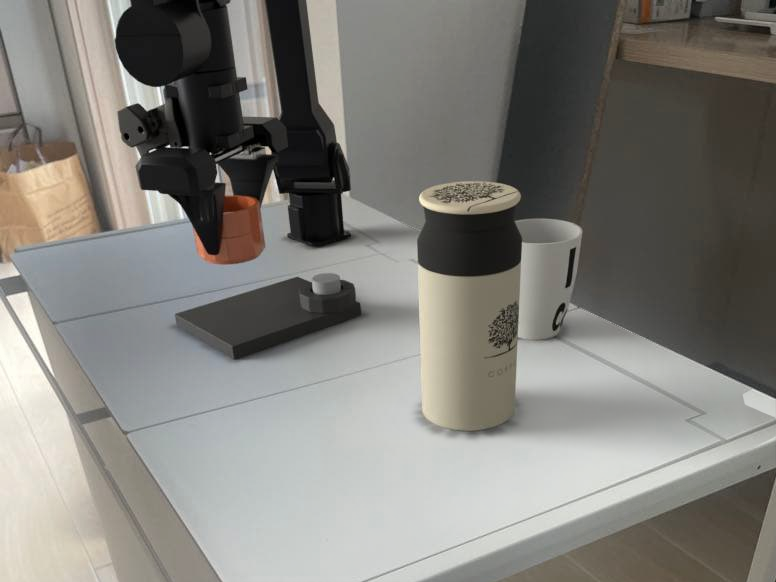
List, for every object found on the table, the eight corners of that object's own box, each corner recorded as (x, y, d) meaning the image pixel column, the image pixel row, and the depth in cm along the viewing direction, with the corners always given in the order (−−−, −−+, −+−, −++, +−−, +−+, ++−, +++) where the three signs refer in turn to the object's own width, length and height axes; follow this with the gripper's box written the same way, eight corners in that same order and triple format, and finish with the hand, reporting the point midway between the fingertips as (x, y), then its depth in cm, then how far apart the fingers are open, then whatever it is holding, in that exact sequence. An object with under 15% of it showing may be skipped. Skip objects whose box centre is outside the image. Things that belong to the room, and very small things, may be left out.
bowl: (243, 240, 90) (236, 191, 87) (278, 254, 85) (272, 203, 82) (186, 255, 86) (177, 205, 83) (220, 271, 82) (211, 218, 79)
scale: (302, 287, 99) (299, 261, 97) (367, 315, 91) (365, 288, 89) (176, 326, 91) (171, 299, 89) (236, 361, 83) (231, 332, 81)
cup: (572, 348, 82) (581, 245, 76) (489, 344, 84) (492, 242, 78) (575, 316, 88) (583, 219, 82) (498, 313, 90) (501, 217, 84)
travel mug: (403, 408, 73) (394, 193, 63) (474, 382, 77) (476, 174, 66) (461, 444, 68) (461, 215, 57) (533, 414, 72) (546, 193, 61)
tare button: (330, 284, 91) (328, 270, 91) (346, 291, 90) (345, 277, 89) (307, 292, 90) (306, 277, 89) (324, 299, 88) (322, 284, 87)
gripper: (182, 53, 85) (209, 212, 94) (64, 84, 71) (110, 267, 80) (280, 54, 82) (298, 218, 91) (177, 86, 68) (211, 276, 77)
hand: (231, 243), depth 85 cm, fingers closed on bowl, 7 cm apart
